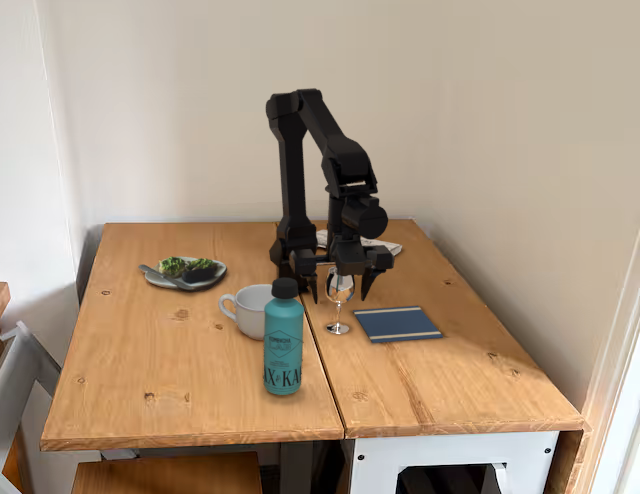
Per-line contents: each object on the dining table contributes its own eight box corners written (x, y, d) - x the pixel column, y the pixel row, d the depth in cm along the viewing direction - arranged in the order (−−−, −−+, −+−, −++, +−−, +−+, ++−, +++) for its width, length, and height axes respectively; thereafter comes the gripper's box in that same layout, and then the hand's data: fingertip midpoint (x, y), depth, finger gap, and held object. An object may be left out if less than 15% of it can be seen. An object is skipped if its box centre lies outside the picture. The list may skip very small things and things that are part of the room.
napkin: (372, 343, 134) (372, 341, 134) (352, 311, 146) (352, 310, 146) (442, 337, 137) (443, 335, 136) (417, 307, 148) (418, 305, 148)
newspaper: (301, 247, 178) (301, 237, 177) (324, 238, 188) (325, 228, 186) (384, 264, 168) (385, 254, 167) (404, 254, 177) (405, 244, 176)
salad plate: (121, 286, 156) (119, 266, 154) (159, 258, 170) (158, 240, 168) (202, 299, 151) (200, 278, 148) (234, 269, 165) (234, 250, 163)
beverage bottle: (261, 383, 121) (261, 273, 111) (300, 382, 122) (303, 272, 111) (264, 404, 116) (263, 289, 105) (304, 402, 116) (308, 288, 106)
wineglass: (350, 336, 137) (354, 277, 130) (320, 333, 138) (323, 275, 131) (353, 323, 141) (358, 266, 135) (325, 320, 142) (327, 263, 136)
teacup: (298, 326, 140) (299, 288, 136) (280, 350, 131) (281, 310, 127) (232, 315, 144) (231, 278, 140) (211, 338, 135) (209, 299, 131)
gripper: (302, 239, 120) (299, 323, 128) (408, 234, 123) (399, 316, 131) (289, 219, 129) (288, 298, 138) (388, 214, 132) (381, 292, 140)
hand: (339, 302), depth 136 cm, fingers open, 9 cm apart
